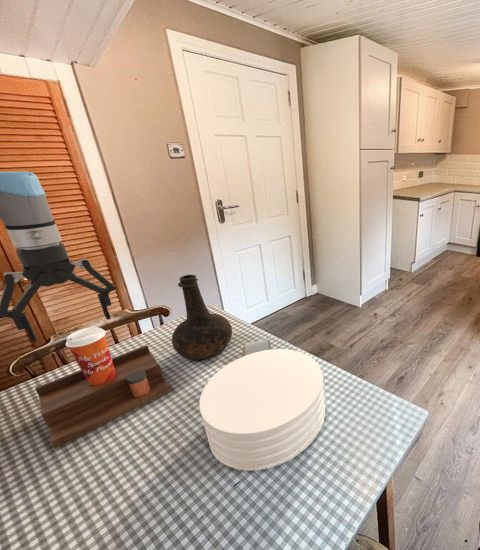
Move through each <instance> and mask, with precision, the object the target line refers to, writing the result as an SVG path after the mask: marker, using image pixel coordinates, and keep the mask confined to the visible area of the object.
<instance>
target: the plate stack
mask: <svg viewBox="0 0 480 550" xmlns="http://www.w3.org/2000/svg"><path fill="white" fill-rule="evenodd" d="M198 405H199V407H198V408H199V413H200V416H201V420H202V423H203V426H204V431H205V434H206V436H207V441H208V444H209V449H210V451H211V453H212V454H213V456H214V458H216V459H217V460H218V461H219V462H220V463H222V465H225V466H226V467H229V468H232V469H235V470H240V471H248V472H249V471H261V470H267V469H270V468H274V467H278V466H280V465H282V464H284V463H286V462H288V461H290V460H292V459H294V458H295V457H296V456H298V455H300V454H301V453H302V452H304V450H306V449H307V448H308V447H309V446H310V445H311V444H312V443H313V442H314V440H315V439H316V438H317V436H318V435H319V433H320V431H321V429H322V427H323V425H324V421H325V418H326V417H325V416H326V404H325V392H324V376H323V371H322V368H321V367H320V364H319V363H318V362H317V361H316V360H315V359H314V358H312V357H311V356H310V355H307V354H306V353H305V352H302V351H298V350H293V349H287V348H286V349H285V348H273V349H272V348H271V350H264V351H259V352H255V353H252V354H249V355H246V356H244V357H243V356H241V357H239V358H237V359H235V360H232V361H231V362H229V363H228V364H226V365H224V366H223V367H222V368H221V369H219V370H218V371H216V372H215V374H214V375H212V377H210V379H209V380H208V382H207V383H206V384H205V386H204V387H203V389H202V391H201V394H200V397H199V402H198Z"/></svg>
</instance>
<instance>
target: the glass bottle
mask: <svg viewBox="0 0 480 550" xmlns="http://www.w3.org/2000/svg"><path fill="white" fill-rule="evenodd" d="M198 280H199V279H198V278H197V275H196V274H186V275H182V276H181V277H179V282H178V284H177V286H178V287H180V288H181V290H182V293H183V300H184V304H185V311H186V319H184V320H183V321H181V323H180V322H179V324H178V325H177V326H176V327H175V329H174V331H173V332H172V336H171V344H172V348H173V349H174V351H175V352H176V353H177V354H178V355H180V356H181V357H183V358H186V359H189V360H193V361H200V360H207V359H210V358H213V357H215V356H217V355H219V354H220V353H221V352H222V351H224V350H225V349H226V348H227V347H228V345H229V344H230V341H231V339H232V336H233V328H232V325H231V323H230V321H229V320H228V319H227V318H226V317H224V316H223V315H221V314H218V313H211V312H210V310H209V309H208V308H207V305H206V303H205V301H204V298H203V296H202V293H201V290H200V288H199V287H200V286H199V284H198Z"/></svg>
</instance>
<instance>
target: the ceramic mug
mask: <svg viewBox="0 0 480 550" xmlns="http://www.w3.org/2000/svg"><path fill="white" fill-rule="evenodd" d="M264 350H272V347H271V341H270V339H269V338H265V339H262V340H257V341H254V342H253V341H252V342H249V343H246V344H244V345H243V346H242V357H244V356H246V355H249V354H252V353H255V352H259V351H264Z"/></svg>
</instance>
